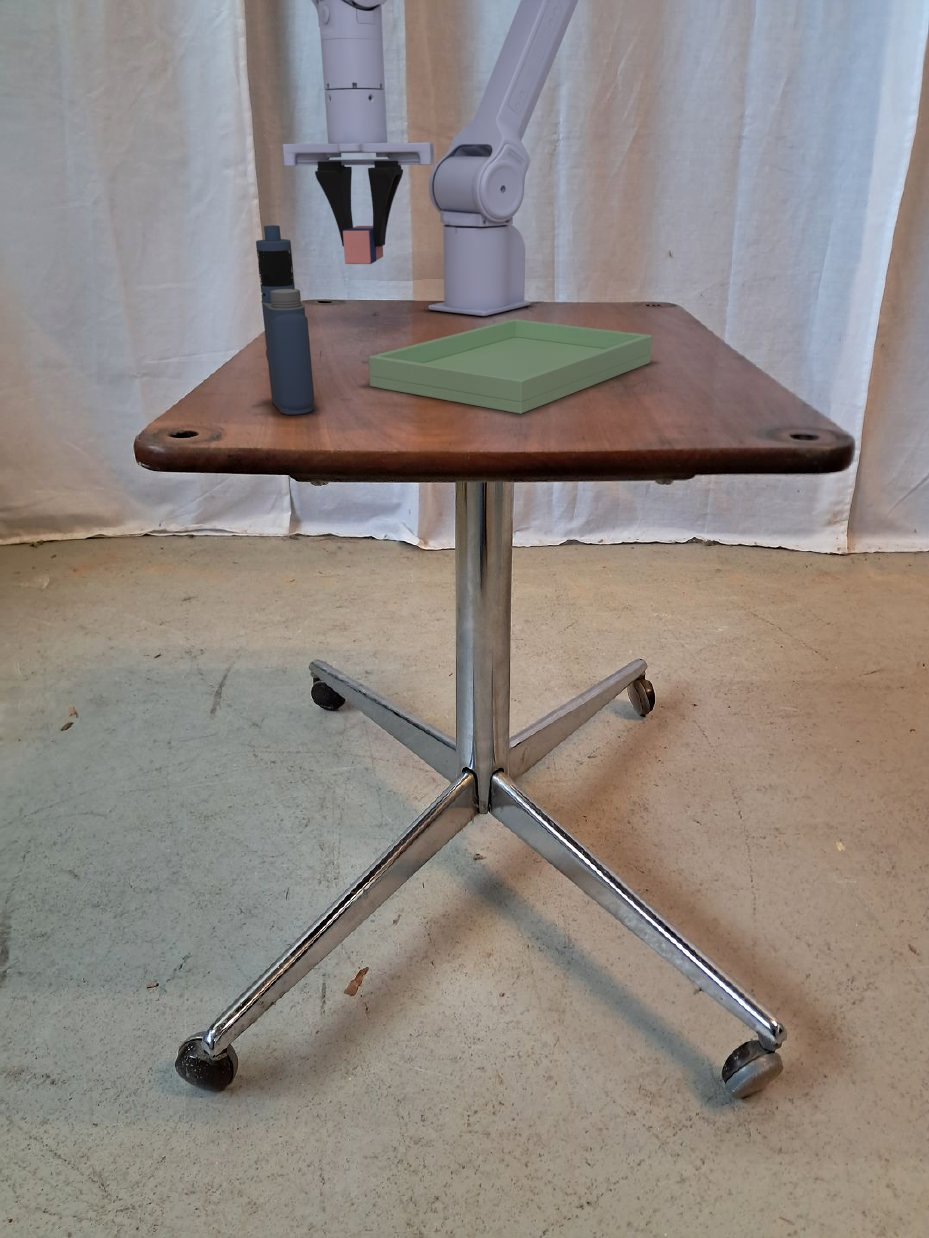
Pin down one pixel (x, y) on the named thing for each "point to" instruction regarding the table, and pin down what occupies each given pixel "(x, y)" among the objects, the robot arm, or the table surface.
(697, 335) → the table surface
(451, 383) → the tray
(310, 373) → the vaping device
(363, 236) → the eraser
